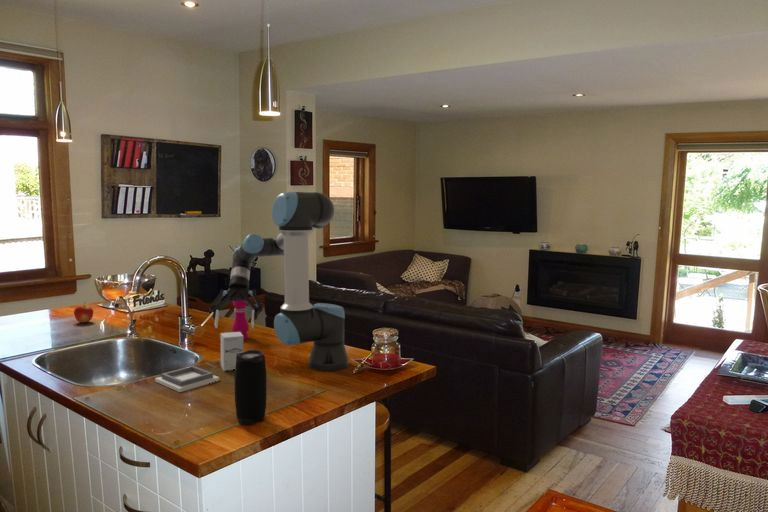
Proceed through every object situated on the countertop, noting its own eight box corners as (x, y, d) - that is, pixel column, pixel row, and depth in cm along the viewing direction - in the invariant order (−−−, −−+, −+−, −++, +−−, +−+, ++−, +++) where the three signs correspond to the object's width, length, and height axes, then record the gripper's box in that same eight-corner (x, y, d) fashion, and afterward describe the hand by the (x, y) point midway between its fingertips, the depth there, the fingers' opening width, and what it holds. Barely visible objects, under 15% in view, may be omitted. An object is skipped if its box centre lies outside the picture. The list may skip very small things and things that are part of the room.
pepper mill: (228, 339, 246) (227, 294, 244) (238, 335, 253) (238, 291, 250) (242, 341, 243) (241, 295, 241) (252, 337, 250) (251, 292, 248)
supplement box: (223, 371, 203) (222, 337, 201) (220, 365, 210) (220, 332, 208) (244, 369, 206) (243, 335, 204) (240, 363, 213) (240, 330, 211)
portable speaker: (230, 425, 157) (229, 357, 155) (242, 412, 167) (241, 348, 164) (260, 427, 157) (260, 358, 154) (270, 414, 166) (269, 349, 164)
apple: (82, 320, 275) (81, 300, 274) (97, 321, 274) (96, 300, 273) (70, 324, 267) (69, 303, 266) (86, 325, 266) (85, 304, 265)
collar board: (219, 380, 194) (219, 372, 193) (179, 392, 182) (179, 384, 182) (194, 371, 203) (194, 363, 203) (155, 381, 191) (155, 373, 191)
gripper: (271, 286, 232) (268, 330, 219) (209, 285, 229) (202, 331, 216) (270, 275, 226) (266, 320, 213) (206, 275, 223) (198, 321, 211)
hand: (234, 326), depth 215 cm, fingers open, 13 cm apart
